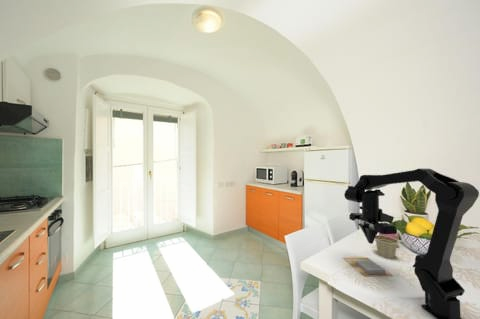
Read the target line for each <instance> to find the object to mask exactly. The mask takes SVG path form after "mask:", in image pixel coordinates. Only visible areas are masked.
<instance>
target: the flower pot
mask: <svg viewBox="0 0 480 319" xmlns="http://www.w3.org/2000/svg"><path fill="white" fill-rule="evenodd" d="M374 242H375V243H376V249H377V251H376V252H377V254H378V255H379V256H380V257H382V258H386V259H395V258H396V252H397V247H398V244H399V243H400V241H399V240H396V239H394V238H392V237H388V236H382V235H379V234H377V235H376V237H375V239H374Z"/></svg>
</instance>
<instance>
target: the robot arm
mask: <svg viewBox="0 0 480 319" xmlns="http://www.w3.org/2000/svg"><path fill="white" fill-rule="evenodd" d="M415 182H419V183H421V184H422V185H423V186H424V187H425V188H426V189H427V190H429V191H430V192H432V193H433V194H434V195H435V196H434V197H435V198H434V201H435V204H436V207H437V209H438V211H437V215H436V218H435V222H434V226H433V230H432V234H431V237H430V240H429V244H428V248H427V251H426V253H423V254H422V253H421V254H417V255H415V258H414V264H413V265H412V268H414V269H413V271H414V275H416V277H417V279H418V282H419V285H420V287H421V289H422V292H424V303H425V304H424V303H423V304H421V307H422V308H423V309H424V310H426V311H427V312H428V313H429V314H430V315H432V316H433V317H435V319H463V317H462V316H461V300H460V299H459V298H457V297H462V296H463V295H464V293H465V292H466V291H465V289H464V288H463V287H462V285H461V284H460V283H459V282H458V281H457V280H456V279H455V278H454V277H453V275H454V274H453V272H454V269H453V265H452V262H451V257H452V254H453V250H454V246H455V244H456V240H457V237H458V234H459V229H460V226H461V224H462V221H463V220H462V219H463V217H464V215H465V214H466V213H467V212H469V210H470V209H472V207H473V206H474V205H475V202H476V201H477V200H478V198H479V196H480V193H479V190H478V189H477V188H476V186H475V185H473V184H471V183H469V182H464V181H459V180H457V179H455V178H452V177H450V176H447V175H445V174H441V172H440V173H439V172H437V171H436V170H433V169H431V168H417V169H413V170H412V169H411V170H406V171H401V172H394V173H386V174H362V175H360V176H359V178H358V181H357V182H356V183H355V185H354V186H353V185H348V186H347V188H346V190H345V192H344V193H343V194H344V198H345V200H347V201H350V202H355V203H359V204H360V203H361V205H359V209H360V210H361V212H351V213H350V214H348V215H349V220H351V221H353V222H355V221H356V220H359V223H358V225H357V226H359V227H360V229H361V232H363V236H365V239H366V241H367V242H368V244H370V245H371V244H372V245H373V244H374V242H375V237H376V235H378V234H379V233H381V234H396V235H398V229H397V227H396V226H395V225H393V221H394V220H395V219H394V218H395V216H393V215H390V214H388V213H384V212H383V209H382V208H380V197H384V196H385V193H384V192H382V190H381V189H380V188H384V187H387V186H389V185H396V184H405V183H415ZM373 189H374V190H373ZM384 222H385V223H384Z"/></svg>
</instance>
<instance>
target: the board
mask: <svg viewBox="0 0 480 319" xmlns="http://www.w3.org/2000/svg"><path fill="white" fill-rule="evenodd" d="M342 259H343V260H344V261H345V262H346V263H347V264H348V265H350V266H351V267H352V268H353V269H354V270H355V271H356V272H358V273H359V274H360V275H361V276H363V277H364V278H365V277H366V278H367V277H371V278H372V277H394V275H393V274H392V273H391V272H389V271H388V270H386V269H385V274H367V273H366V272H365V271H363V270H362V269H361V268H360V267H358V266H357V265H356V261H373V260H371V259H370V258H369V257H342Z"/></svg>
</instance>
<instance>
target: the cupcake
mask: <svg viewBox="0 0 480 319" xmlns="http://www.w3.org/2000/svg"><path fill="white" fill-rule="evenodd" d="M383 223H386V222H383ZM378 235H382V236H388V237H392V238H394V239H396V240H398V241H399V240H400V237H399V235H398V234H381V233H378Z"/></svg>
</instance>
